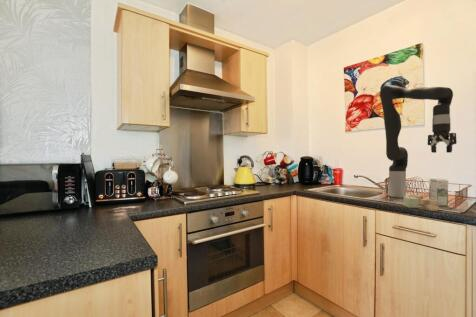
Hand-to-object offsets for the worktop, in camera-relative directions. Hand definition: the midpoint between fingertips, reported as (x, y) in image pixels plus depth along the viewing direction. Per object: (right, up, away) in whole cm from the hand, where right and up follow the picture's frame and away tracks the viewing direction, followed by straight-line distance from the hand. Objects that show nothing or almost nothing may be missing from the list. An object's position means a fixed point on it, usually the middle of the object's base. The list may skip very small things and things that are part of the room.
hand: (441, 152), depth 126 cm
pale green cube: (-12, -30, +3) cm, 32 cm away
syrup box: (-2, -30, 0) cm, 29 cm away
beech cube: (-14, -30, -9) cm, 34 cm away
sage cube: (-19, -30, -2) cm, 35 cm away
